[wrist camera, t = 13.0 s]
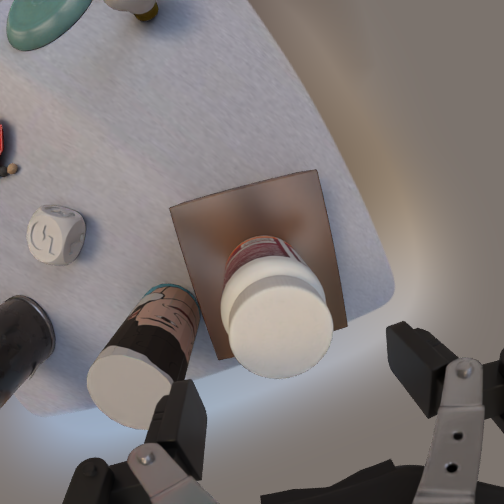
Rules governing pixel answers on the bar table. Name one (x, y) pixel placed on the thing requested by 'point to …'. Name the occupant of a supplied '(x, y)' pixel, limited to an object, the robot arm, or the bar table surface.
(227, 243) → the shelf
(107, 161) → the bar table surface
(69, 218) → the die
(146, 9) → the light bulb
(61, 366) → the bar table surface
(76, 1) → the saucer
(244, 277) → the pill bottle
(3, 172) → the beads
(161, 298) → the cup
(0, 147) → the red spinning top
